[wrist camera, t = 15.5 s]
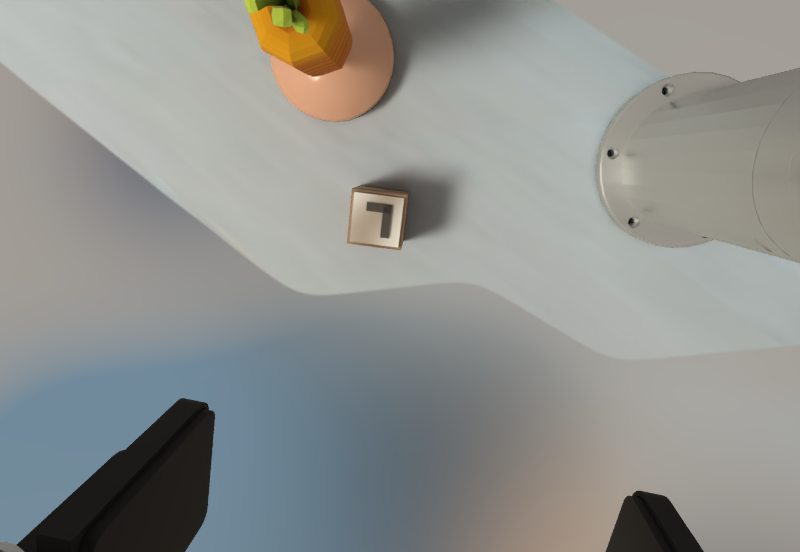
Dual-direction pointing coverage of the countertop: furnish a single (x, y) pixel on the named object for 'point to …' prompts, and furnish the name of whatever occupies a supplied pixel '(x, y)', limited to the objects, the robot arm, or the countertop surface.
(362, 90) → the peach glossy dome
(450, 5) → the countertop surface
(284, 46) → the carrot
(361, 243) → the letter cube
